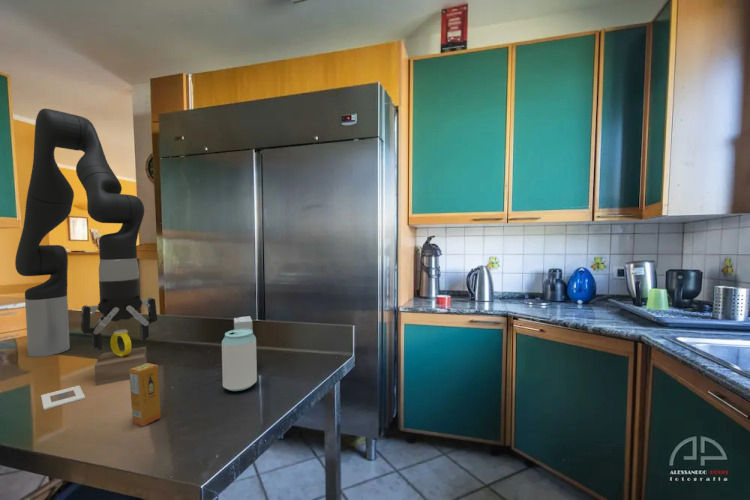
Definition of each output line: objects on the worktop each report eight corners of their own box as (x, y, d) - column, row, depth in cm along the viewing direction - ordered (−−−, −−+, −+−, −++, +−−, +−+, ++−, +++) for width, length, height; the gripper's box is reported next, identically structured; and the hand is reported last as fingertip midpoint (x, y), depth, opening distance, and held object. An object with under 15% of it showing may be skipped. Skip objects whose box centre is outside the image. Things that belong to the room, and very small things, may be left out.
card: (40, 396, 68) (40, 394, 68) (79, 386, 73) (79, 384, 73) (43, 410, 63) (43, 408, 63) (85, 398, 67) (85, 396, 67)
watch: (107, 355, 79) (106, 331, 79) (120, 351, 82) (119, 327, 81) (122, 359, 77) (121, 334, 76) (135, 355, 79) (134, 331, 79)
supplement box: (150, 414, 61) (148, 361, 61) (161, 418, 60) (159, 364, 60) (130, 423, 58) (128, 367, 58) (141, 428, 57) (139, 371, 57)
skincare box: (255, 368, 83) (254, 320, 82) (235, 371, 81) (234, 322, 80) (252, 359, 88) (251, 315, 88) (234, 362, 86) (233, 317, 86)
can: (223, 395, 69) (222, 338, 68) (222, 382, 75) (220, 330, 74) (258, 388, 72) (257, 334, 71) (254, 376, 78) (253, 326, 78)
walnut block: (102, 373, 81) (101, 353, 80) (146, 365, 86) (145, 346, 85) (95, 387, 73) (94, 365, 73) (144, 378, 78) (144, 357, 78)
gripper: (150, 273, 86) (152, 334, 87) (77, 279, 75) (80, 348, 76) (158, 276, 81) (160, 340, 82) (82, 282, 70) (85, 356, 71)
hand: (122, 344), depth 79 cm, fingers open, 8 cm apart
